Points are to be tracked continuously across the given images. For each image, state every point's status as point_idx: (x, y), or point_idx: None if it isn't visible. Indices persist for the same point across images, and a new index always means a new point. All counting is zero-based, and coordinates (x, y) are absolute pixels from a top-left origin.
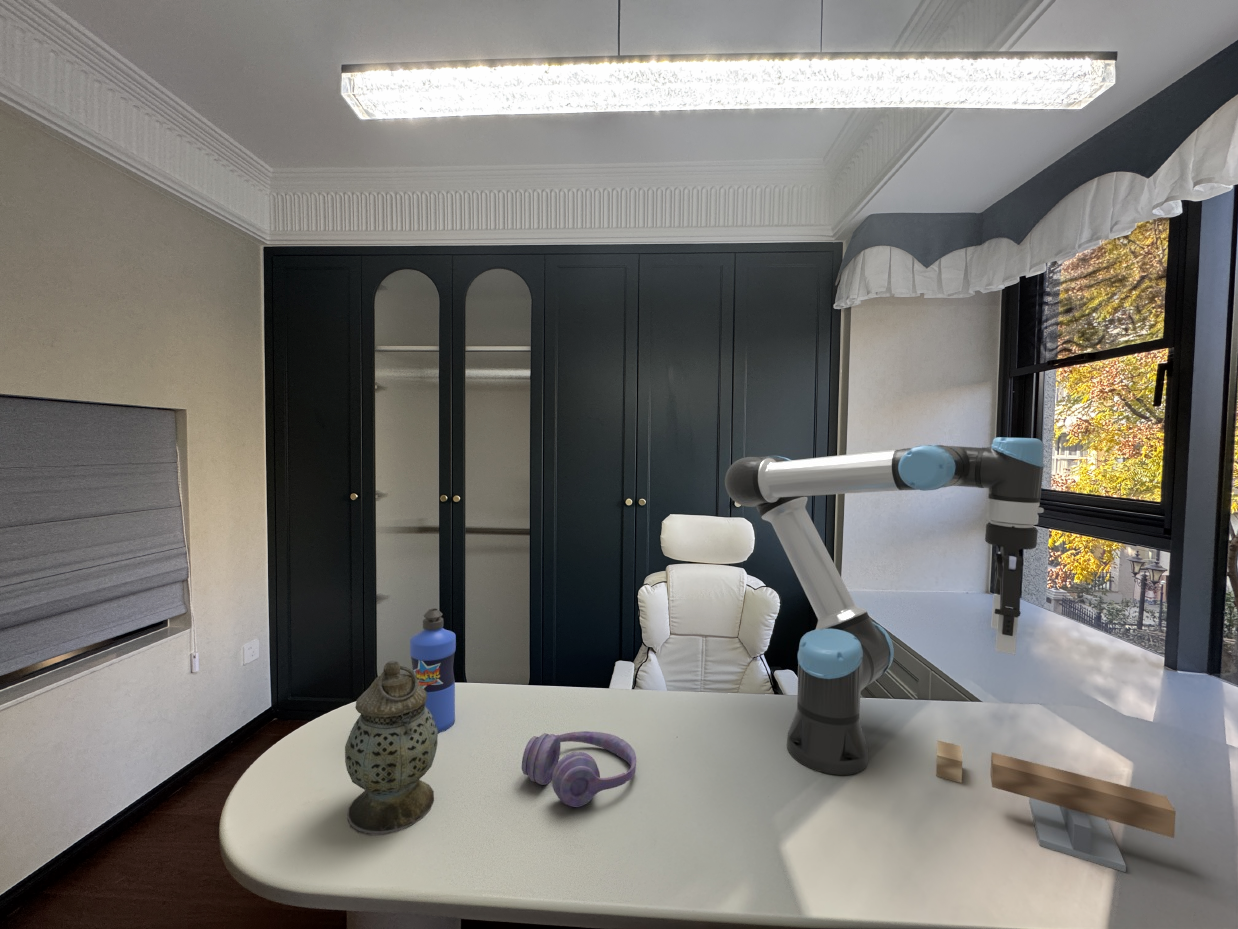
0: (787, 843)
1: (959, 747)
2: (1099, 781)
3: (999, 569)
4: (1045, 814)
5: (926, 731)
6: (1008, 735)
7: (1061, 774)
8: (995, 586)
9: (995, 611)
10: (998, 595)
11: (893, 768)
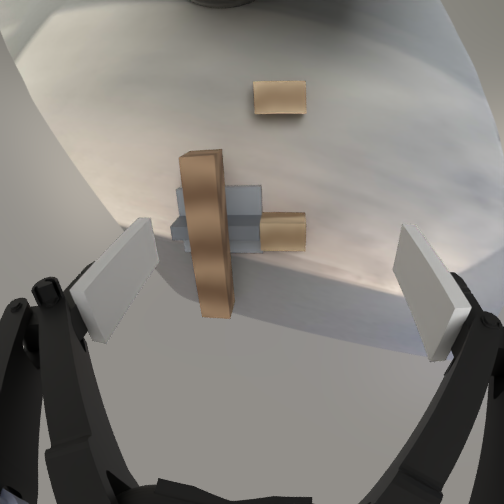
0: (56, 15)
1: (299, 110)
2: (218, 270)
3: (58, 497)
4: (229, 199)
5: (388, 74)
6: (431, 185)
7: (207, 234)
8: (474, 345)
9: (37, 284)
10: (448, 324)
11: (241, 35)
